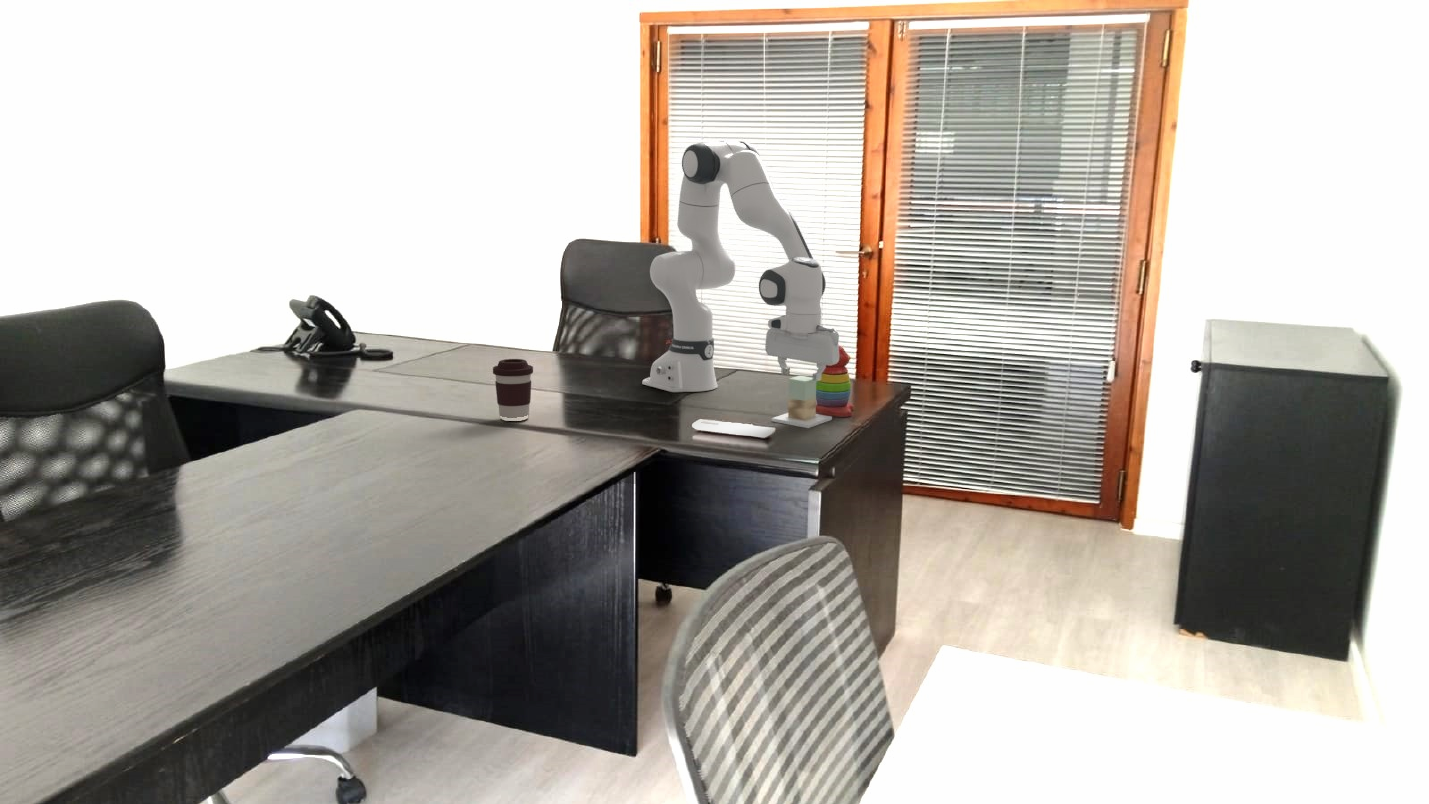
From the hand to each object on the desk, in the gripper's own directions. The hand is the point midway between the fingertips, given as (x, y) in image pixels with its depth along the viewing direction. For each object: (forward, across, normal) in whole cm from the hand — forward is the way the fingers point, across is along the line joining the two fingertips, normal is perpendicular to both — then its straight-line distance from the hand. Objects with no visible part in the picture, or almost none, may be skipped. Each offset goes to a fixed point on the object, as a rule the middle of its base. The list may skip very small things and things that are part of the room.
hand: (800, 377), depth 278 cm
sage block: (+5, -1, 0) cm, 5 cm away
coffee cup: (+12, +56, +45) cm, 73 cm away
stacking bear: (+11, -2, -13) cm, 17 cm away
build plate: (+11, -1, 0) cm, 11 cm away
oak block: (+10, -1, 0) cm, 10 cm away
